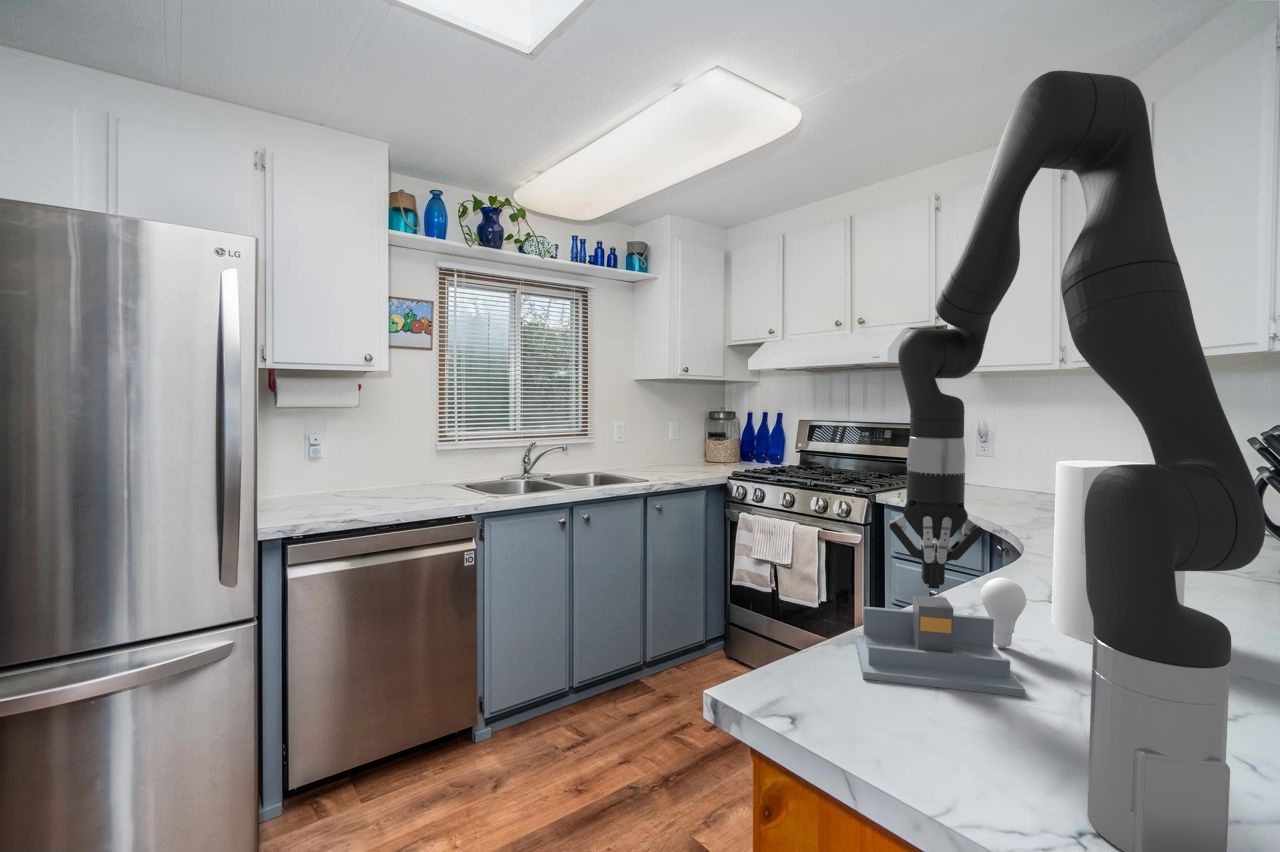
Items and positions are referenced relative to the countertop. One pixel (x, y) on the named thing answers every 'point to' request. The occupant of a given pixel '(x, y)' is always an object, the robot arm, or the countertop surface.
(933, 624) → the block
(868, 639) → the plate
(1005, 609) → the lightbulb
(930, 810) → the countertop surface
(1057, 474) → the cylinder
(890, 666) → the grey stepped stand
